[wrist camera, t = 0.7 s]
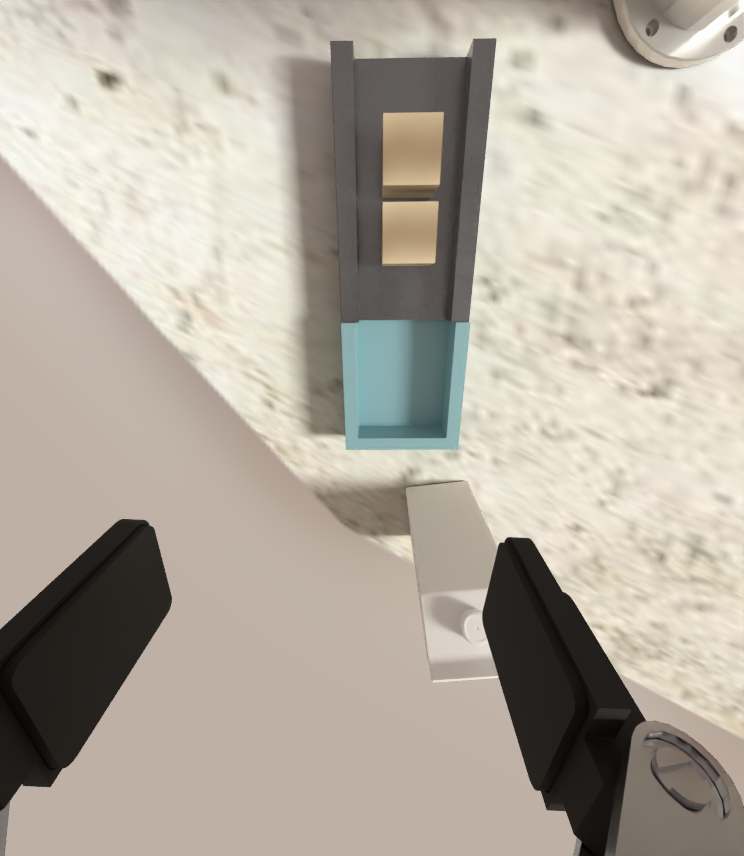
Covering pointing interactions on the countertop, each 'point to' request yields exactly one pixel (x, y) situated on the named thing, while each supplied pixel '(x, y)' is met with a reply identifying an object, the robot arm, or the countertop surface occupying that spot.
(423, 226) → the chip
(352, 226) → the rail
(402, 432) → the tray
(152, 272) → the countertop surface
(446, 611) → the milk carton
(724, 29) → the robot arm
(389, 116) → the chip
